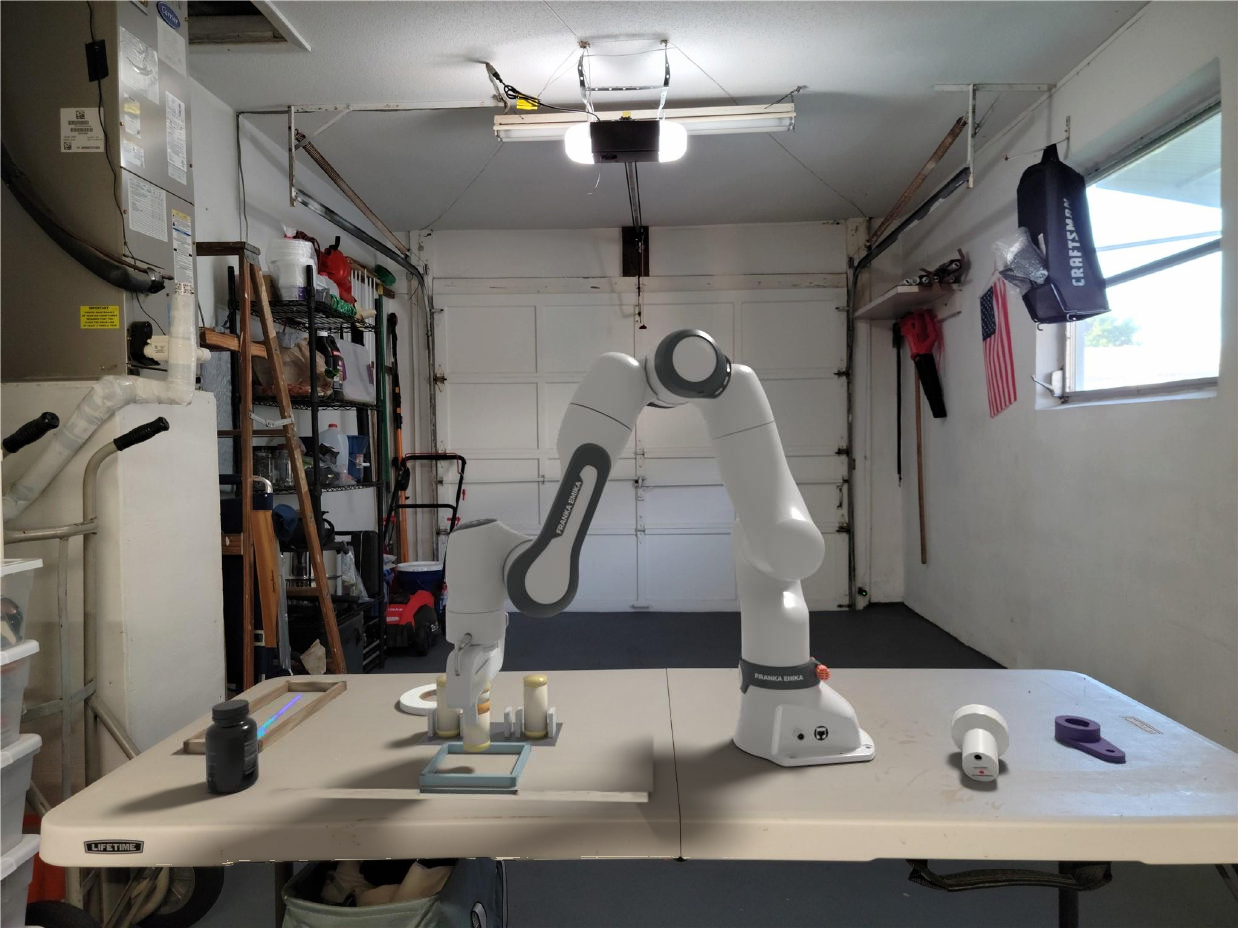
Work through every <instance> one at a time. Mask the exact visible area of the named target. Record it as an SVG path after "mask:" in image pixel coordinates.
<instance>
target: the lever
mask: <svg viewBox="0 0 1238 928" xmlns="http://www.w3.org/2000/svg"><path fill="white" fill-rule="evenodd" d="M1101 732H1102V731H1101V724H1100V723H1099V722H1098V721H1095V720H1093V719H1090V718H1087V717H1082V716H1077V715H1067V714H1066V715H1065V714H1064V715H1062V714H1061V715H1057V716H1055V717H1054V737H1055V739H1056V740H1057V741H1060V742H1061V743H1064V744H1065V745H1068V746H1071V747H1073V748H1075V749H1078V750H1079V751H1082V752H1084V753H1086V754H1088V755H1091V756H1093V757H1094V758H1098V759H1100V760H1102V761H1105V762H1108V763H1109V762H1110V763H1116V764H1119V763H1120V764H1122V763H1126V752H1125V751H1124V750H1122V749H1121V748H1119V747H1118V746H1116V745H1114V744H1113V743H1112V742H1110V741H1109V740H1107V739H1106V738H1104V737H1103V736H1101Z"/></svg>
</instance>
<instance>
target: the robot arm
mask: <svg viewBox="0 0 1238 928" xmlns="http://www.w3.org/2000/svg"><path fill="white" fill-rule="evenodd" d="M689 403H691V404H692V405H693V406H695V407H696V408H697V409H698V411H699V412H700V414H701V416H702V418H703V419H704V421H705V424H706V429H707V433H708V436H709V439H710V440H709V441H710V445H711V447H712V450H713V455H714V458H715V461H716V464H717V465H716V466H717V469H718V471H719V472H718V473H719V476H720V480H721V483H722V485H723V487H724V489H725V491H726V493H727V495H728V497H729V500H730V501H731V503H732V506H733V508H734V510H735V513H736V515H737V518H736V519H735V521H734V522H733V525H732V526H731V530H730V540H731V544H732V549H733V560H734V561H733V562H734V570H735V576H736V577H735V578H736V584H737V590H738V596H739V603H740V618H741V619H740V620H741V623H740V624H741V654H740V655H739V663H738V686H739V690H740V701H739V702H740V703H739V709H738V710H739V711H738V716H737V721H736V727H735V729H734V734H733V737H732V739H733V742H734V744H735V745H736V747H738V748H739V749H741V750H743V752H747V754H751V755H754V756H756V757H761V758H764V759H767V760H769V761H772V762H773V763H775V764H777V765H780V766H782V767H796V766H797V767H798V766H809V765H823V764H835V763H850V762H860V761H871V760H873V759H874V758H875V756H876V748H875V743H874V741H873V739H872V738H871V736H870V735H869V734H868V733H867V732H866V731H865V730H863V728H861V727H860V724H859V720H858V717H857V714H856V711H855V709H854V707H853V706H852V705H851V703H849V701H848V700H846V698H845V697H843V696H842V695H841V694H839V693H838V692H837V691H835V690H834V689H833V688H831V687H830V686H829V685H828V684H827V683H825V681H828V680H829V679H830V678H831V671H830V670H829V669H828V668H827V666H826V665H823V664H822V663H821V662H820V661H818V660H817V659H815V658H814V657H813V656H810V614H809V613H810V611H809V609H808V605H807V603H806V600H805V597H804V592H803V589H802V584H801V580H804V579H807V578H808V577H810V576H812V575H813V574H814V573H816V571H817V570H818V569H819V568H820V566H821V565H822V563H823V561H824V558H825V553H826V545H825V540H824V537H823V534H822V533H821V531H820V530H819V528H818V527H817V525H815V523H814V521H813V519H812V516H811V514H810V512H809V510H808V508H807V506H806V503H805V499H803V496H802V494H801V492H800V490H799V488H798V486H797V483H796V481H795V480H794V478H793V475H792V473H791V471H790V468H789V465H788V462H787V458H786V455H785V452H784V448H783V444H782V441H781V438H780V435H779V432H778V427H777V424H776V420H775V417H774V414H773V411H772V408H771V405H770V402H769V399H768V398H767V394H766V392H765V390H764V387H763V386H762V384H761V382H760V380H759V378H758V376H757V374H756V373H755V371H754V370H753V369H752V368H751V367H749V366H747V365H745V364H740V363H739V364H738V363H732V361H731V359H730V358H729V357H728V356H727V355H726V354H725V353H724V352H723V350H721V347H720V346H719V344H718V343H717V342H716V341H715V339H714V338H712V337H711V336H710V335H709V334H707V333H706V332H704V331H702V330H699V329H694V328H683V329H678V330H675V331H672V332H669V334H667V335H666V336H664V337H663V338H661V339H659V340H658V341H657V342H655V343H654V344H653V345H652V346H651V347H650V348H649V350H647V351H646V352H645V354H642V356H640V357H639V358H636V357H632V356H630V355H628V354H627V353H623V352H617V351H616V352H615V351H611V352H605V353H602V354H600V355H599V356H597V357H596V359H595V360H594V361H593V362H592V364H591V365H590V367H589V368H588V370H587V371H586V372H585V373H584V375H583V377H582V379H581V380H580V382H579V384H578V385H577V388H576V389H575V391H574V393H573V395H572V397H571V399H570V401H569V403H568V406H567V408H566V410H565V413H564V415H563V417H562V421H561V424H560V427H559V429H558V433H557V434H558V435H557V439H556V444H555V445H556V451H557V455H558V458H559V464H560V477H559V482H558V485H557V489H556V491H555V493H554V496H553V499H552V502H551V504H550V506H549V509H548V511H547V514H546V516H545V519H544V521H543V524H542V526H541V528H540V531H539V533H538V535H537V536H536V537H533V536H530V535H526V534H523V533H521V532H518V531H517V530H515V529H512V528H510V527H509V526H507V525H505V524H503V523H502V522H501V521H500V520H498V519H497V518H489V517H488V518H481V519H476V520H475V519H474V520H470V521H467V522H464V523H460V524H459V525H457V526H456V527H455V528H453V529H452V530H451V532H450V534H449V535H448V538H447V539H448V540H447V543H446V553H445V582H446V586H447V592H448V595H447V601H446V604H445V639H446V641H447V642H449V643H451V644H454V649H453V650H452V651H451V652H450V653H449V655H448V657H447V661H446V670H445V674H446V687H445V701H446V705H447V707H448V708H451V709H463V712H464V714H465V725H466V726H475V725H476V724H477V723H478V721H479V711H478V710H477V702H478V698H479V696H480V695H481V694H482V692H483V691H484V690H485V688H486V686H487V685H488V683H489V692H490V690H491V686H492V685H491V682H492V680H493V679H494V677H496V675H497V674H498V672H500V670H501V669H502V666H503V662H504V654H505V638H506V629H507V627H508V625H509V614H508V612H506V602H507V600H510V601H511V603H512V605H513V606H514V607H515V608H516V610H517V611H519V612H520V613H522V614H523V615H526V616H528V617H532V618H536V619H544V618H545V619H547V618H551V617H555V616H556V615H558V614H560V613H562V612H563V611H564V610H566V609H567V608H568V607H569V606H570V605H571V604H572V602H573V601H574V600H575V597H576V595H577V592H578V589H579V583H580V582H579V581H580V557H581V551H582V548H583V545H584V542H585V539H586V537H587V535H588V531H589V529H590V526H591V523H592V520H593V519H594V516H595V513H596V511H597V508H598V505H599V503H600V500H601V498H602V494H603V492H604V489H605V487H606V485H607V483H608V481H609V479H610V477H611V475H612V473H613V471H614V469H615V467H616V465H617V464H618V462H619V460H620V459H621V457H622V454H623V452H625V449H626V446H627V444H628V442H629V441H630V438H631V436H632V434H633V431H634V428H635V426H636V424H637V421H638V419H639V416H640V415H641V413H642V412H643V410H644V409H645V407H651V408H655V409H665V410H666V409H672V408H676V407H680V406H684V405H686V404H689Z"/></svg>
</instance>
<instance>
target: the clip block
mask: <svg viewBox="0 0 1238 928" xmlns="http://www.w3.org/2000/svg"><path fill="white" fill-rule="evenodd" d="M506 707H507V708H506V709H505V711H504V712H503V721H490V742H503V743H531V747H555V746H556V744H557V741H558V739H559V735H560V733H561V730H562V728H563V725H564V722H556V721H557V717H556V716H557V714H556V711H557V710H556V706H551V707H550V708H549V710H548V712H547V715H548V734H547V735H546V736H544V737H541V738H528V737H526V736H524V706H518V707H517V709H516V710H515V713H514V715H515V716H514V717H515V719H514V721H513V718H514V717H513V706H506ZM427 714H428V716H427V731H426V732H425V733H424V735H423V736H422V737H421V738H420V739H419V740H418V742H417V743H416V744H415V746H442V745H443V744H444V743H445V742H463V710H461V712H460V734H459V735H457V736H454V737H448V738H443V737H439V736H438V735H437V706H433V707H432V708H431V709H430V711H429V712H428V713H427Z"/></svg>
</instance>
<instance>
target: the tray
mask: <svg viewBox="0 0 1238 928" xmlns="http://www.w3.org/2000/svg"><path fill="white" fill-rule="evenodd" d="M531 752H532V746H531V743H503V742H490V747H489V748H488V749H486V750H484V751H480V752H468V751H465V750H464V749H463V742H445V743H444V744H443V745H441V747H440V748H439V749H438V751H437V752H436V754H435V755H434V756H433V757H432V758H431V759H430V761H429V762H428V764H427V765H426V767H424V769H423V770H422V771H421V773H420V774H419V776H418V778H419V779H418V780H419V781H418V782H419V783H418V784H419V786H431V787H432V786H433V787H435V786H440V787H441V786H442V787H444V786H445V787H446V786H447V787H455V786H456V787H515V788H516V787H517V785H518V783H519V780H520V778H521V775H522V774H523V771H524V769H525V767H526V765H527V762H528V760H529V757H530V755H531ZM449 753H455V754H456V753H457V754H458V753H460V754H463V753H467V754H473V753H474V754H475V753H476V754H477V753H478V754H520V755H519V758H518V759H517V762H516V764H515V766H514V768H513V770H512V772H511V774H508V773H507V774H506V773H505V774H504V773H502V774H501V773H435V772H436V771H437V770H438V769H439V766H440V765H441V763H443V761H444V760H445V758H446V757H447V755H448V754H449ZM518 791H519V790H518V789H485V788H484V789H477V788H476V789H472V788H466V789H464V788H459V789H457V788H454V789H453V788H419V791H418V792H419V794H436V795H437V794H441V795H444V794H445V795H448V794H449V795H452V794H453V795H511V796H512V795H517V793H518Z"/></svg>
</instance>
